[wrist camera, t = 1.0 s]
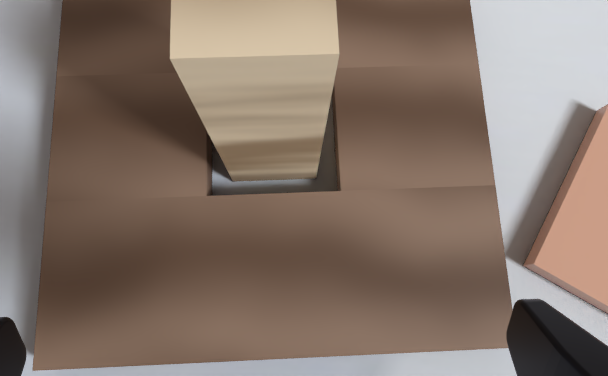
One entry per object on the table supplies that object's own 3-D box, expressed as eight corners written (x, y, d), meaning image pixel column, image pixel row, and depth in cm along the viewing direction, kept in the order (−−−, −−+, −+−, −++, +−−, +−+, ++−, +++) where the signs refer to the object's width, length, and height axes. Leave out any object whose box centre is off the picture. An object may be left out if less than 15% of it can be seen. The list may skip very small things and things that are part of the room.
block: (316, 178, 23) (339, 53, 11) (233, 181, 23) (169, 58, 11) (312, 101, 24) (330, -88, 12) (232, 103, 24) (173, -85, 12)
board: (502, 344, 21) (517, 347, 20) (50, 365, 21) (32, 370, 19) (451, -41, 26) (461, -61, 24) (79, -32, 25) (66, -53, 24)
